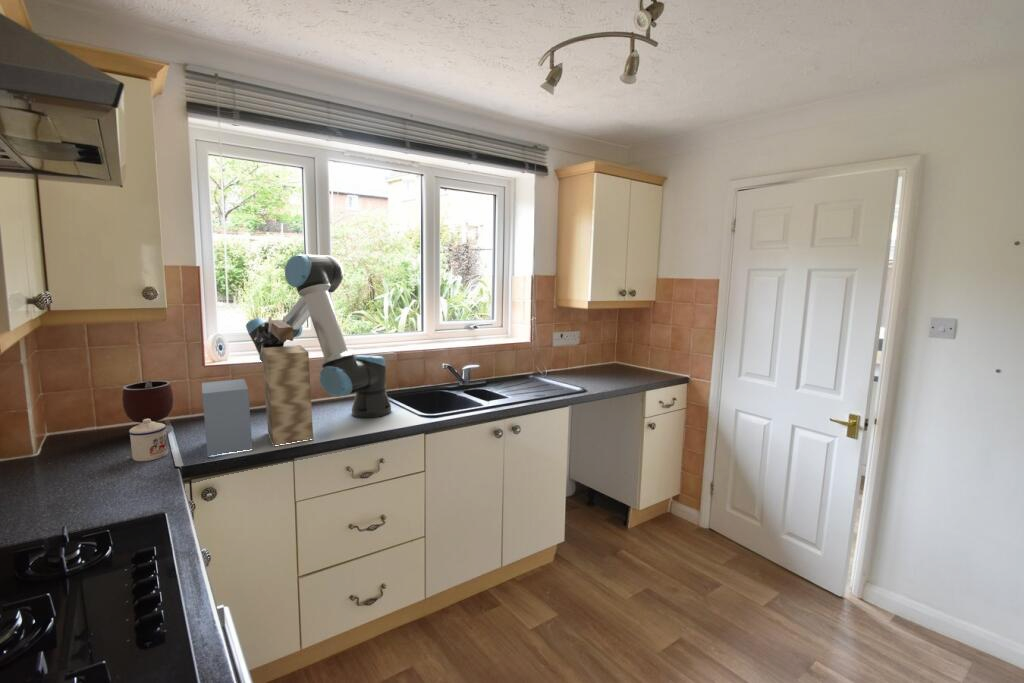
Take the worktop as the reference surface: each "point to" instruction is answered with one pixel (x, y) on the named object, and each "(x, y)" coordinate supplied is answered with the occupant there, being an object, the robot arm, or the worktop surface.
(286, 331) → the walnut bar
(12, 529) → the worktop surface
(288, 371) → the oak stand
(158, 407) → the mate gourd
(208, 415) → the slate base
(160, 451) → the teacup with lid
